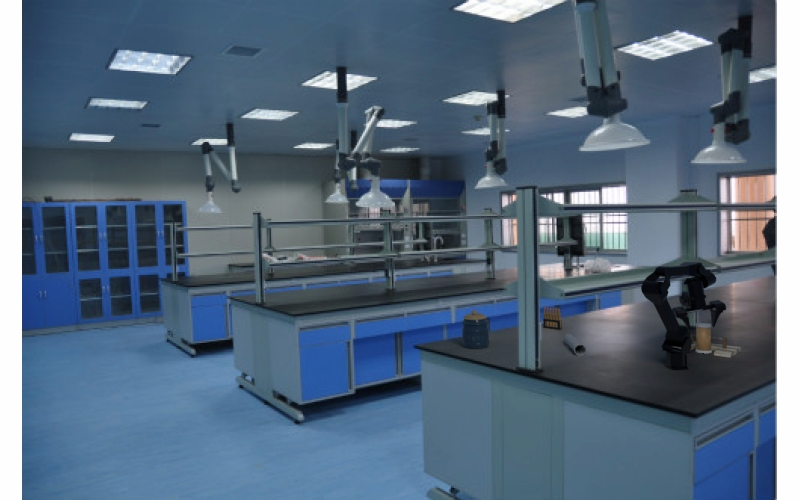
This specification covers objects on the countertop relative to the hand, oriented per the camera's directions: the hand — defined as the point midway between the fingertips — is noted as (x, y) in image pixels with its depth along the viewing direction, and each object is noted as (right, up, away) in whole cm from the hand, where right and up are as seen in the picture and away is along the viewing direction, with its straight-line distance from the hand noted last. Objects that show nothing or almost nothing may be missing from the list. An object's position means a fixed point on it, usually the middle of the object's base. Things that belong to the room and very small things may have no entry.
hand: (701, 328), depth 216 cm
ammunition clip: (-39, -11, +73) cm, 84 cm away
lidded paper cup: (+8, -12, +12) cm, 19 cm away
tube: (-42, -14, +29) cm, 53 cm away
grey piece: (+11, -11, +15) cm, 21 cm away
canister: (-85, -15, +44) cm, 97 cm away
